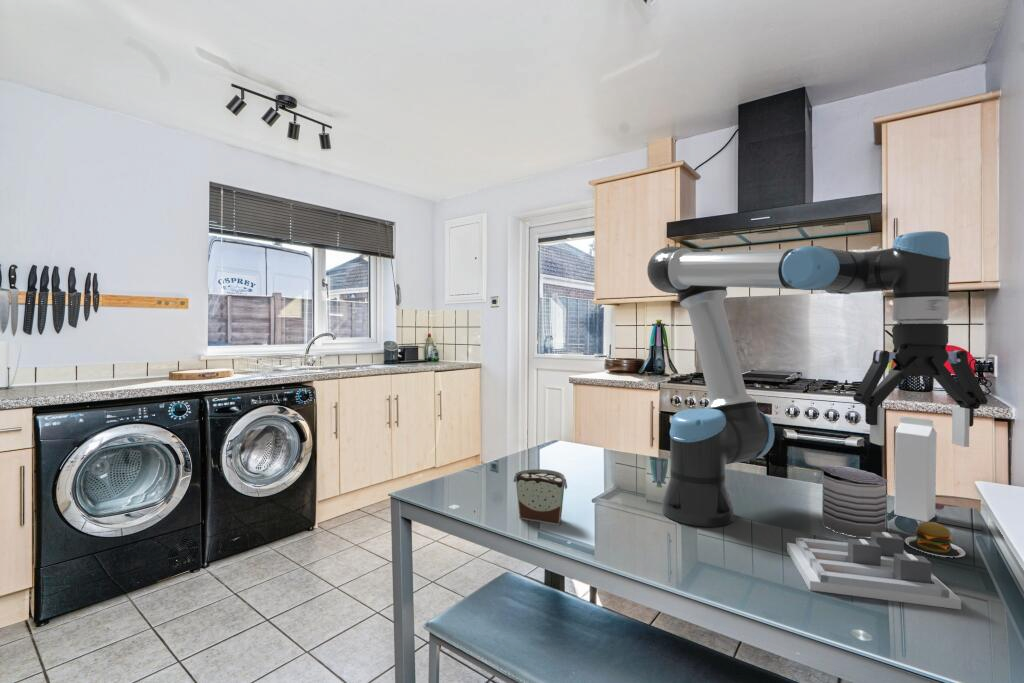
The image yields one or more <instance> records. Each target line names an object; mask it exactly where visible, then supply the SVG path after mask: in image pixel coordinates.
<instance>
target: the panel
mask: <svg viewBox="0 0 1024 683" xmlns="http://www.w3.org/2000/svg"><path fill="white" fill-rule="evenodd" d="M786 551H787V553H788V555H789V556H790V558H791V560H792V562H793V564H794V565H795V567H796V568H797V570H798V572H799V574H800V576H801V577H802V578H803V581H804V583H805V584H806V586H807V587H808V589H809V590H810V591H813V592H820V593H821V592H822V593H828V594H829V593H830V594H838V595H847V596H853V597H862V598H867V599H868V598H869V599H877V600H884V601H892V602H899V603H900V602H901V603H907V604H914V605H923V606H930V607H940V608H947V609H953V610H954V609H955V610H962V598H960V597H959V596H958V595H957V594H956V593H954V592H953V591H952V590H951V589H950V588H949V587H947V586H946V584H944V582H942V581H941V580H940V579H938V578H937V577H936V575H934V574H933V573H932V572H931V584H928V583H920V582H911V581H903V580H895V579H894V578H893V571H894V557H888V556H881V566H874V565H865V564H856V563H849V562H848V542H843V541H834V540H825V539H814V538H806V537H805V538H804V537H795V543H793V542H792V543H791V542H786ZM904 554H909V552H907V551H906V550H905V549H904Z"/></svg>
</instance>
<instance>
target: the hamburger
mask: <svg viewBox="0 0 1024 683" xmlns="http://www.w3.org/2000/svg"><path fill="white" fill-rule="evenodd" d="M914 531H915V534H914V535H915V536H908V537H906V538H905V539H904V544H906V545H907V546H909V547H910V548H912V549H915V550H916V551H918V550H919V552H920V551H921V553H923V552H924V554H926V553H927V554H926V555H930V554H931V555H930V556H934V555H935V557H939V556H940V557H939V558H946V557H950V558H949V559H951V558H953V557H954V556H951V555H950V556H949V555H940V554H947V553H949V552H950V551H951V549H953V550H955V551H956V550H957V551H956V552H958V553H959V555H957V556H955V558H961V557H962V558H963V557H965V555H966V551H965V549H962V548H961V547H959V546H958V545H955V543H954V542H953V541H954V540H953V538H952V536H951V534H952V533H951V531H950V529H948V528H947V527H946V526H944V525H943V524H940V523H939V522H934V521H928V522H924V521H922V522H921V523H919V524H918V525H917V526H916V529H914ZM911 540H916V541H915V542H916V543H917V545H918V546H919V547H920V548H921V547H922V548H921V549H923V548H924V549H923V550H921V549H918V548H916V547H914V546H912V545H911V544H910V545H911V546H910V545H909V541H911ZM951 547H952V548H951ZM925 549H926V550H925ZM928 550H929V552H927V551H928ZM931 551H933V552H931ZM936 552H938V553H937V554H936ZM953 559H954V558H953Z"/></svg>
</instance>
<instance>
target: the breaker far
mask: <svg viewBox="0 0 1024 683" xmlns="http://www.w3.org/2000/svg"><path fill="white" fill-rule="evenodd" d="M904 540H905V539H904V538H902V537H901V535H899V534H897V533H892V532H891V533H889V532H882V533H880V532H871V539H870V541H875V542H876V543H877V544H878V545H879V546H880V547H881V556H888V557H894V553H896V554H904V550H905V549H904V544H905V541H904Z"/></svg>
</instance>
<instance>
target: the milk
mask: <svg viewBox="0 0 1024 683" xmlns="http://www.w3.org/2000/svg"><path fill="white" fill-rule="evenodd" d="M937 436H938V435H937V431H936V429H935V428H934V421H933V419H925V418H919V417H918V418H917V417H908V416H900V418H899V424H898V426H897V428H896V431H895V437H894V438H895V443H894V444H895V447H894V450H895V451H894V453H895V454H894V459H895V460H894V502H893V503H894V510H893V512H894V515H896V516H901V517H904V518H908V519H912V520H916V521H921V522H930V521H931V520H932V519H933V518H935V517H936V492H937V490H936V486H937Z"/></svg>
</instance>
